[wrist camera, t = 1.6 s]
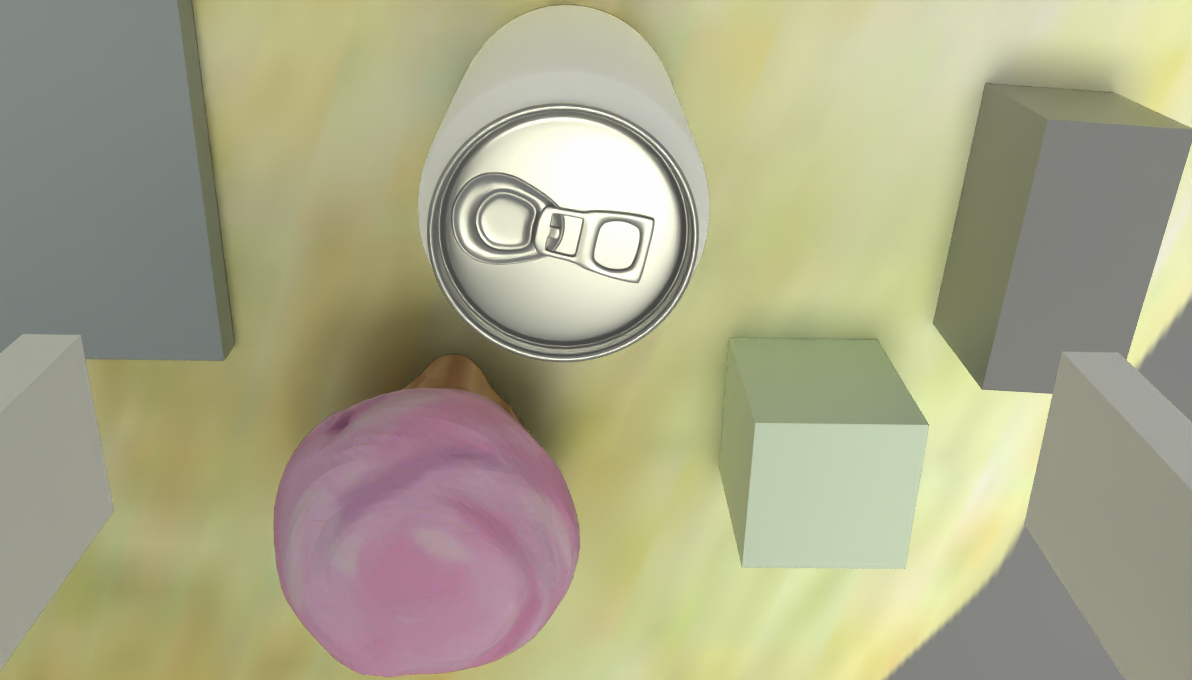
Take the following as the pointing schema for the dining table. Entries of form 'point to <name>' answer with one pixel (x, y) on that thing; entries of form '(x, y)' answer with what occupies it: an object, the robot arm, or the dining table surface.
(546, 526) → the cupcake
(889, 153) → the dining table surface
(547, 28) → the can
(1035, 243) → the charcoal block
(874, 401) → the sage block
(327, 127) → the dining table surface
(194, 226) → the board
